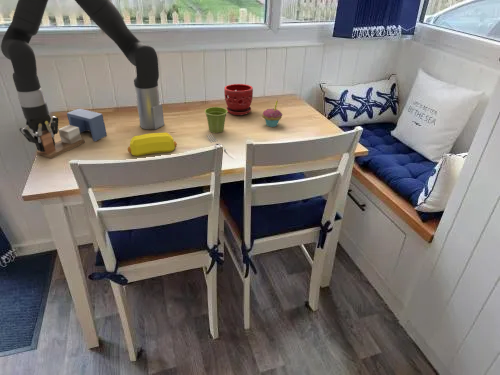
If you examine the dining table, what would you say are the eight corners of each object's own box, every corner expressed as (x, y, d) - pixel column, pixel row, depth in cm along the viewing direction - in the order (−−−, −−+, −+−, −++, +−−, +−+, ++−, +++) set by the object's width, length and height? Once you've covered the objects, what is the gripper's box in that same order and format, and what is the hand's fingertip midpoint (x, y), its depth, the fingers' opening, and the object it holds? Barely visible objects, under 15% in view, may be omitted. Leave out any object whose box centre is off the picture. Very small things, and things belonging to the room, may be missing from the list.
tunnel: (108, 134, 146) (104, 112, 142) (95, 141, 141) (90, 118, 136) (86, 128, 151) (81, 107, 146) (72, 134, 145) (66, 113, 140)
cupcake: (284, 123, 161) (286, 97, 155) (277, 130, 155) (279, 102, 148) (266, 119, 164) (267, 93, 158) (258, 126, 158) (259, 99, 151)
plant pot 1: (231, 128, 155) (230, 108, 151) (222, 136, 148) (222, 116, 143) (211, 124, 158) (210, 105, 153) (201, 132, 150) (200, 113, 146)
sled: (84, 142, 140) (79, 122, 135) (50, 158, 128) (44, 137, 124) (71, 139, 142) (66, 119, 138) (37, 154, 131) (30, 133, 126)
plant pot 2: (257, 110, 174) (258, 86, 167) (242, 119, 164) (242, 93, 158) (234, 105, 180) (235, 81, 173) (219, 113, 170) (218, 87, 164)
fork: (234, 164, 129) (234, 159, 128) (205, 138, 146) (205, 134, 145) (242, 162, 130) (242, 157, 130) (212, 137, 148) (212, 133, 147)
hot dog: (127, 150, 136) (128, 159, 130) (124, 133, 132) (126, 142, 126) (175, 144, 141) (179, 152, 135) (174, 128, 137) (177, 136, 131)
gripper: (21, 111, 114) (37, 159, 123) (58, 98, 125) (70, 143, 134) (5, 107, 116) (22, 154, 126) (43, 94, 127) (56, 139, 136)
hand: (47, 148), depth 130 cm, fingers closed on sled, 3 cm apart
